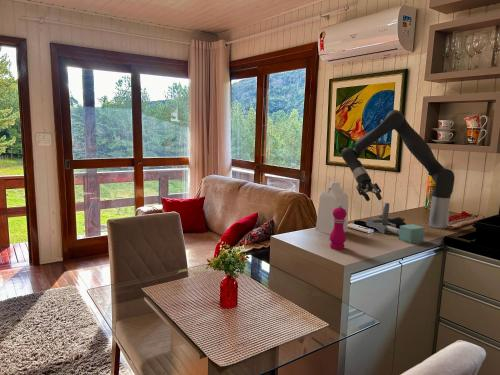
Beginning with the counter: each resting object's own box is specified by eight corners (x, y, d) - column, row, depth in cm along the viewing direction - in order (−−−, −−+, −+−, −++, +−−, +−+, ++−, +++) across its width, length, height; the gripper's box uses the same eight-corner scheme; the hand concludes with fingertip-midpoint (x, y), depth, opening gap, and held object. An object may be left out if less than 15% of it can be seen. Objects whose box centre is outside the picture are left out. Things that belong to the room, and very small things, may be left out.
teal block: (411, 237, 185) (413, 224, 184) (423, 241, 179) (424, 227, 177) (398, 239, 181) (400, 225, 180) (410, 243, 175) (411, 229, 173)
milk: (329, 226, 200) (332, 179, 196) (347, 231, 192) (351, 182, 188) (315, 230, 193) (318, 181, 188) (333, 235, 184) (337, 184, 180)
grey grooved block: (377, 226, 205) (377, 217, 204) (395, 232, 193) (396, 222, 192) (366, 227, 201) (366, 218, 200) (384, 233, 190) (385, 224, 189)
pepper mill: (326, 245, 169) (329, 202, 165) (342, 245, 169) (345, 202, 166) (331, 250, 161) (334, 206, 158) (347, 250, 162) (351, 206, 159)
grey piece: (376, 225, 202) (378, 200, 199) (402, 234, 186) (405, 207, 184) (372, 226, 200) (374, 200, 198) (398, 235, 185) (401, 207, 182)
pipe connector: (389, 214, 213) (413, 219, 201) (389, 222, 214) (412, 229, 202) (377, 216, 207) (400, 222, 194) (376, 225, 208) (400, 232, 195)
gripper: (355, 172, 203) (368, 196, 194) (374, 172, 209) (388, 195, 201) (348, 180, 208) (360, 204, 200) (367, 180, 214) (380, 203, 206)
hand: (374, 200), depth 200 cm, fingers open, 8 cm apart
